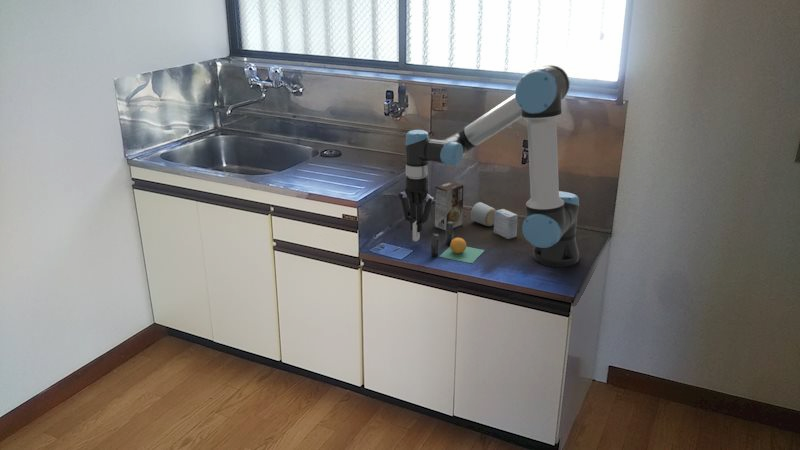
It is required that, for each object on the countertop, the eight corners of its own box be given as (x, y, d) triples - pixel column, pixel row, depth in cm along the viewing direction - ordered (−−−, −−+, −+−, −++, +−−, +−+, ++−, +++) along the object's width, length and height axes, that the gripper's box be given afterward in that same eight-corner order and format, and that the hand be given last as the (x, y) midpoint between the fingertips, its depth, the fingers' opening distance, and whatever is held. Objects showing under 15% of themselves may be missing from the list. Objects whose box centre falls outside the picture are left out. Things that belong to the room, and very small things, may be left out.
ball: (468, 251, 235) (469, 236, 233) (462, 257, 231) (462, 242, 229) (453, 248, 238) (454, 234, 236) (447, 254, 233) (447, 239, 231)
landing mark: (484, 250, 236) (484, 250, 236) (472, 263, 226) (472, 263, 226) (452, 244, 241) (452, 244, 241) (438, 256, 231) (438, 256, 231)
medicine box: (516, 237, 247) (518, 214, 244) (507, 239, 245) (509, 217, 242) (502, 230, 254) (503, 208, 250) (493, 232, 251) (494, 210, 248)
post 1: (439, 255, 232) (440, 234, 229) (436, 258, 230) (436, 236, 227) (432, 254, 233) (433, 232, 230) (429, 257, 231) (429, 235, 228)
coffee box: (450, 220, 263) (451, 180, 257) (463, 224, 258) (464, 184, 253) (434, 226, 257) (434, 185, 251) (446, 231, 253) (447, 189, 247)
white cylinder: (485, 229, 254) (487, 209, 252) (469, 223, 260) (470, 204, 257) (504, 222, 261) (505, 203, 258) (488, 217, 267) (489, 198, 264)
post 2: (454, 242, 242) (454, 221, 239) (451, 245, 240) (451, 224, 237) (447, 241, 243) (447, 220, 241) (444, 244, 241) (444, 223, 238)
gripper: (438, 175, 232) (437, 239, 241) (404, 170, 237) (404, 233, 246) (429, 181, 226) (428, 246, 234) (394, 176, 231) (394, 240, 240)
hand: (416, 239), depth 240 cm, fingers closed
